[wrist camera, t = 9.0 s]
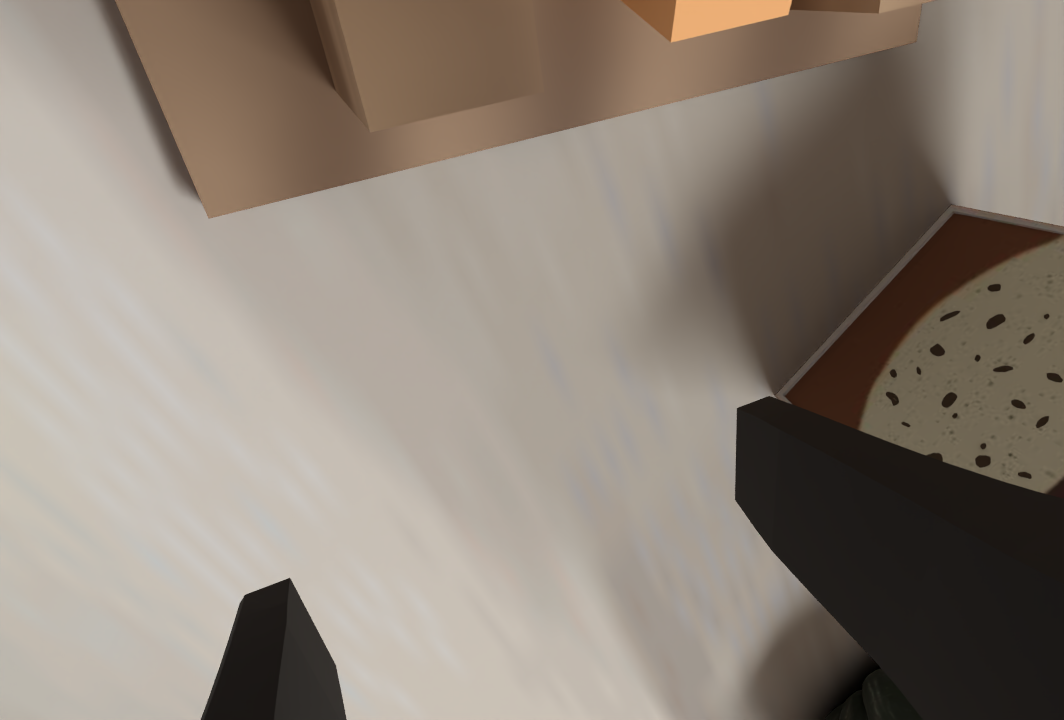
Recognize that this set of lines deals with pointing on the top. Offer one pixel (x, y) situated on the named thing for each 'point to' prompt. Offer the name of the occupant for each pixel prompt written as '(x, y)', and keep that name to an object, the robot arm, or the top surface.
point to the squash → (876, 702)
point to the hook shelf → (328, 146)
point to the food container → (957, 351)
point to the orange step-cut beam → (704, 15)
